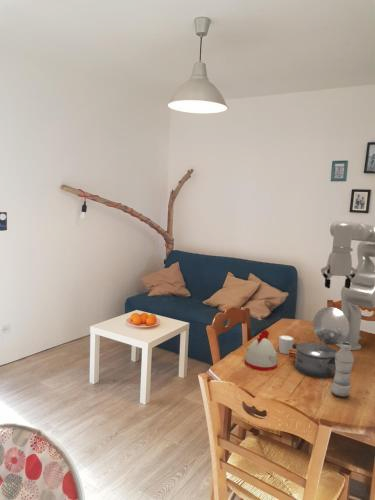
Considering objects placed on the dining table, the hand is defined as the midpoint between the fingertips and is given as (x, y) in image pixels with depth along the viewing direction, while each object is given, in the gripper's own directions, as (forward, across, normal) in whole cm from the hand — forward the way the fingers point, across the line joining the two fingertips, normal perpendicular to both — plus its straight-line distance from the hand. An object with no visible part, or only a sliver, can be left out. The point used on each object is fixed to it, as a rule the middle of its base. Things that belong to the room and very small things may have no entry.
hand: (337, 287), depth 174 cm
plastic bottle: (+33, +14, +34) cm, 49 cm away
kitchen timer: (+34, +36, +6) cm, 49 cm away
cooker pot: (+33, +13, +13) cm, 38 cm away
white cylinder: (+34, +19, -7) cm, 39 cm away
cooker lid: (+16, +5, +6) cm, 18 cm away
